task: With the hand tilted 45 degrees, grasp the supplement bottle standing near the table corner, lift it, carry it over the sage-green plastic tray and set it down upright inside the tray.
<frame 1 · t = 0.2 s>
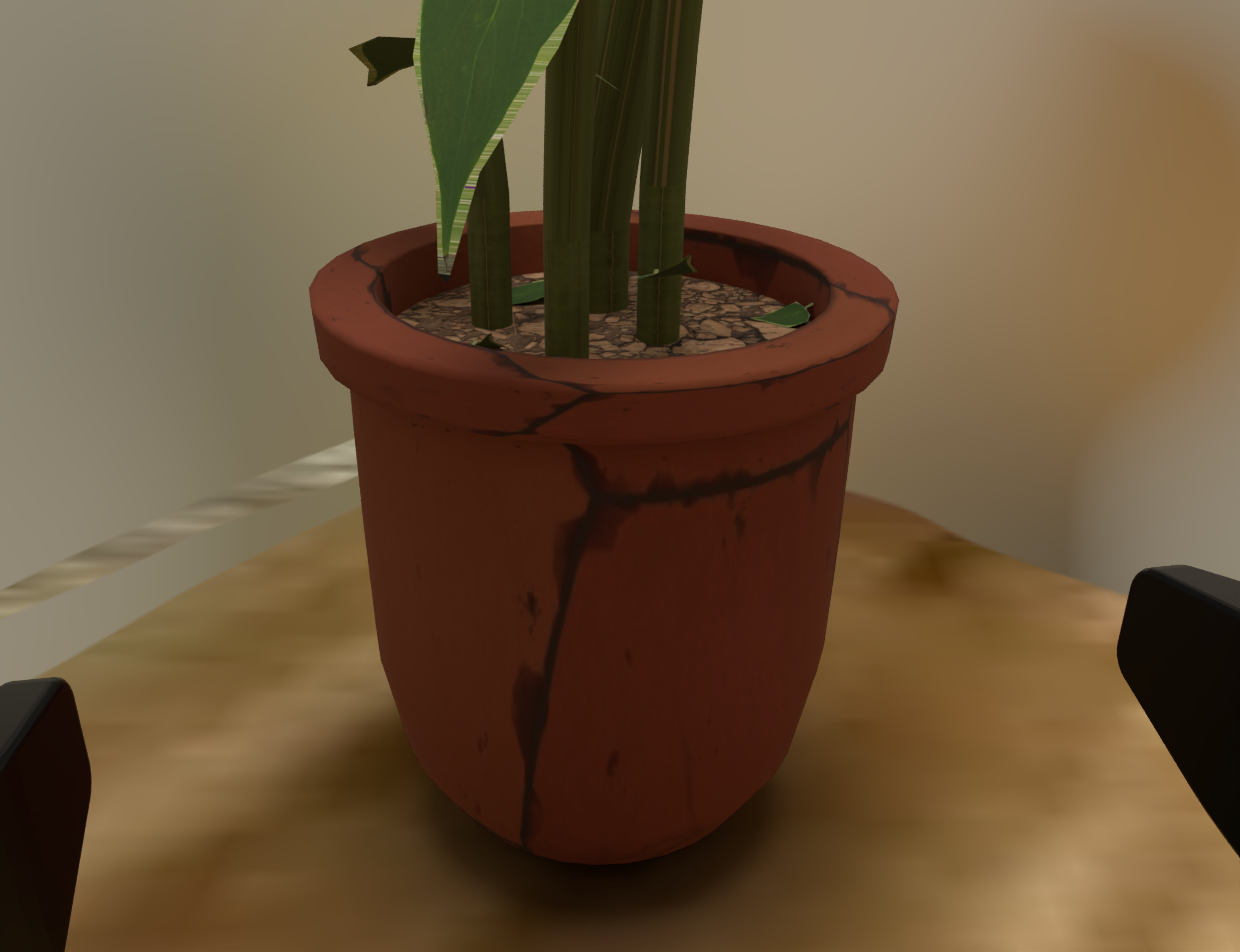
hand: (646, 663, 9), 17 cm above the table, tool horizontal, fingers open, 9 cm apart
potted plant: (515, 801, 32), on the table
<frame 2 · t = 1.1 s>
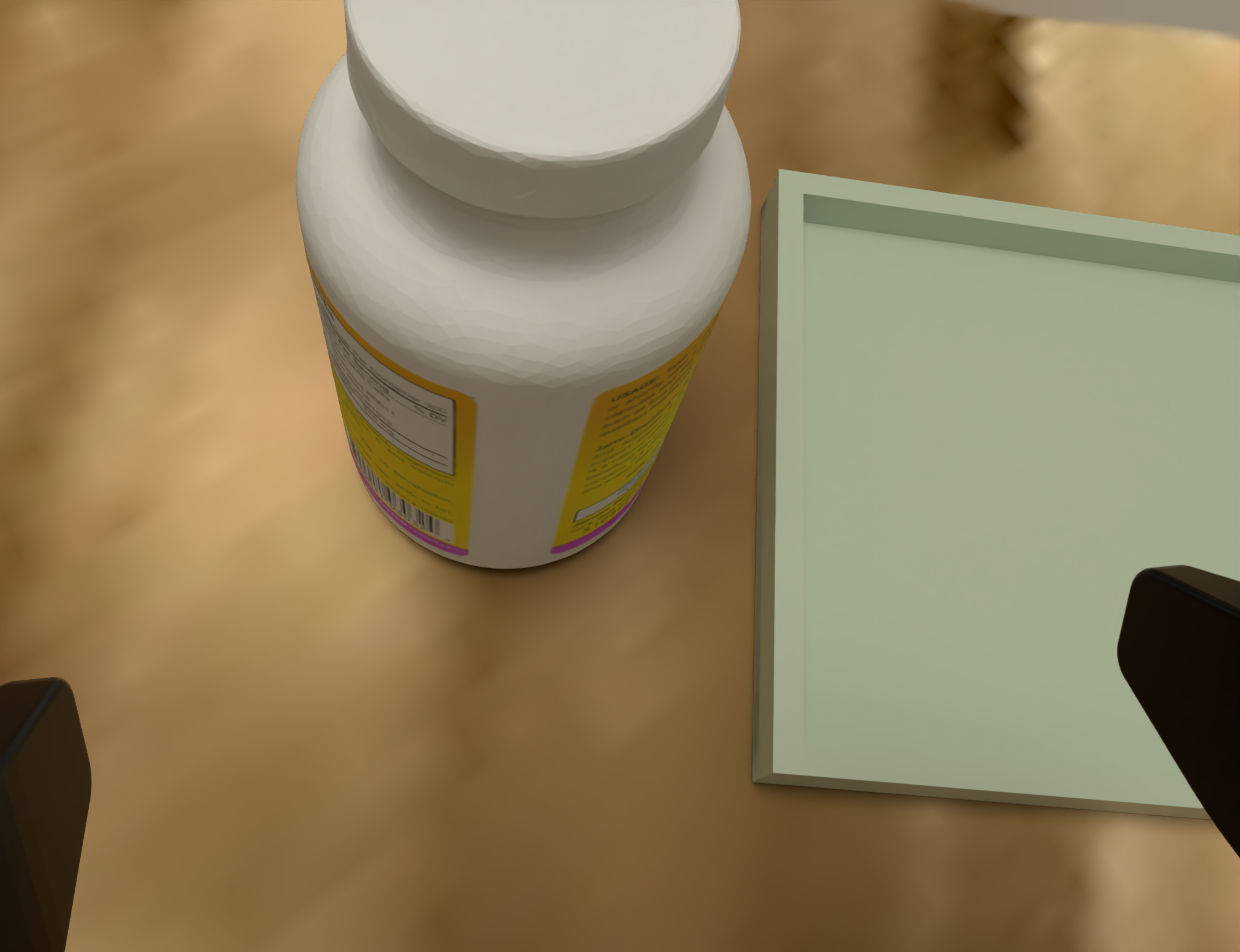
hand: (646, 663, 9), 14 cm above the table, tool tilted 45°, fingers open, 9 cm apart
tray: (1048, 498, 26), on the table
supplement bottle: (501, 437, 25), on the table
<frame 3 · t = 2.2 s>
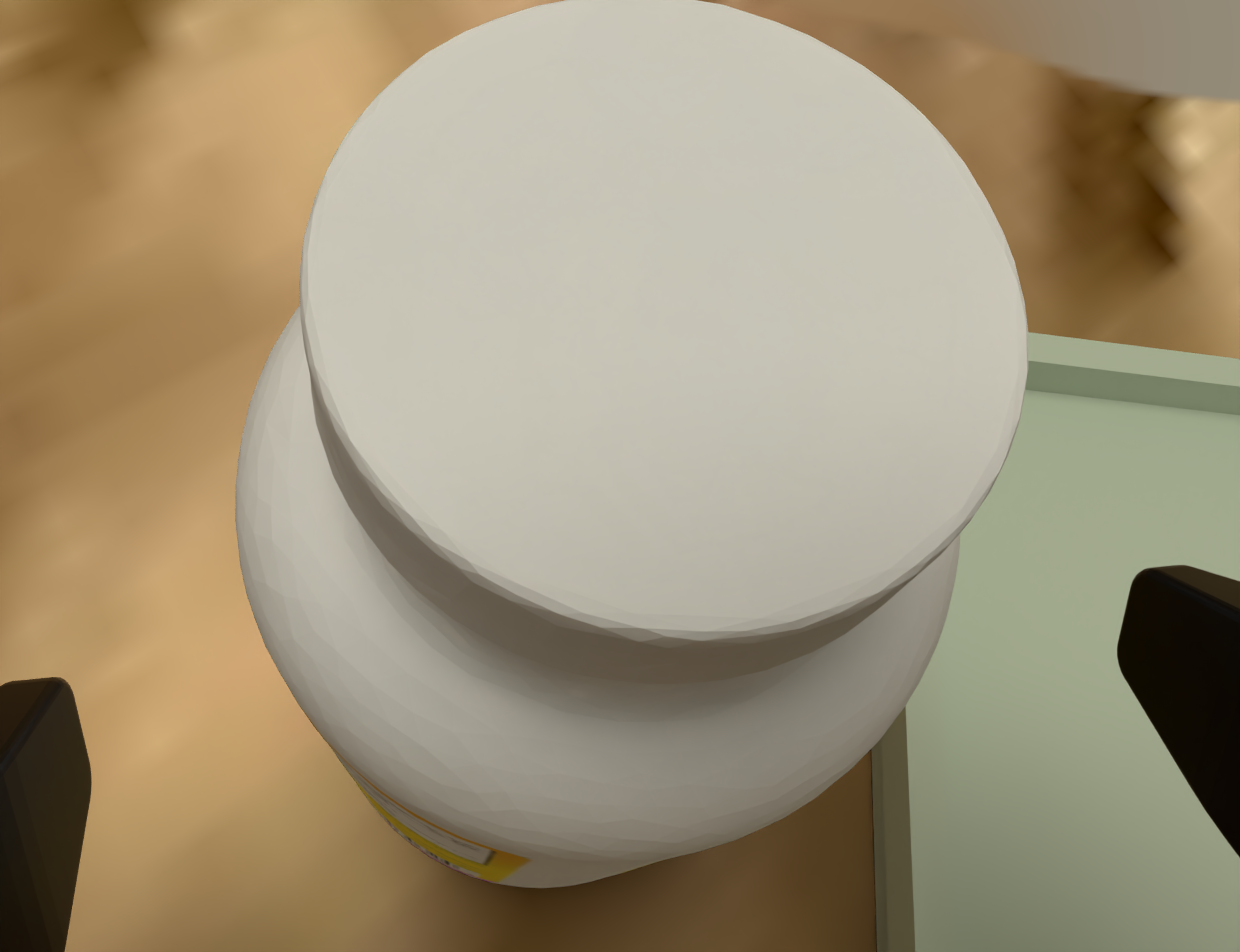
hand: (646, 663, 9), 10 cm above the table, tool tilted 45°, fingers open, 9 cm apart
supplement bottle: (536, 682, 19), on the table
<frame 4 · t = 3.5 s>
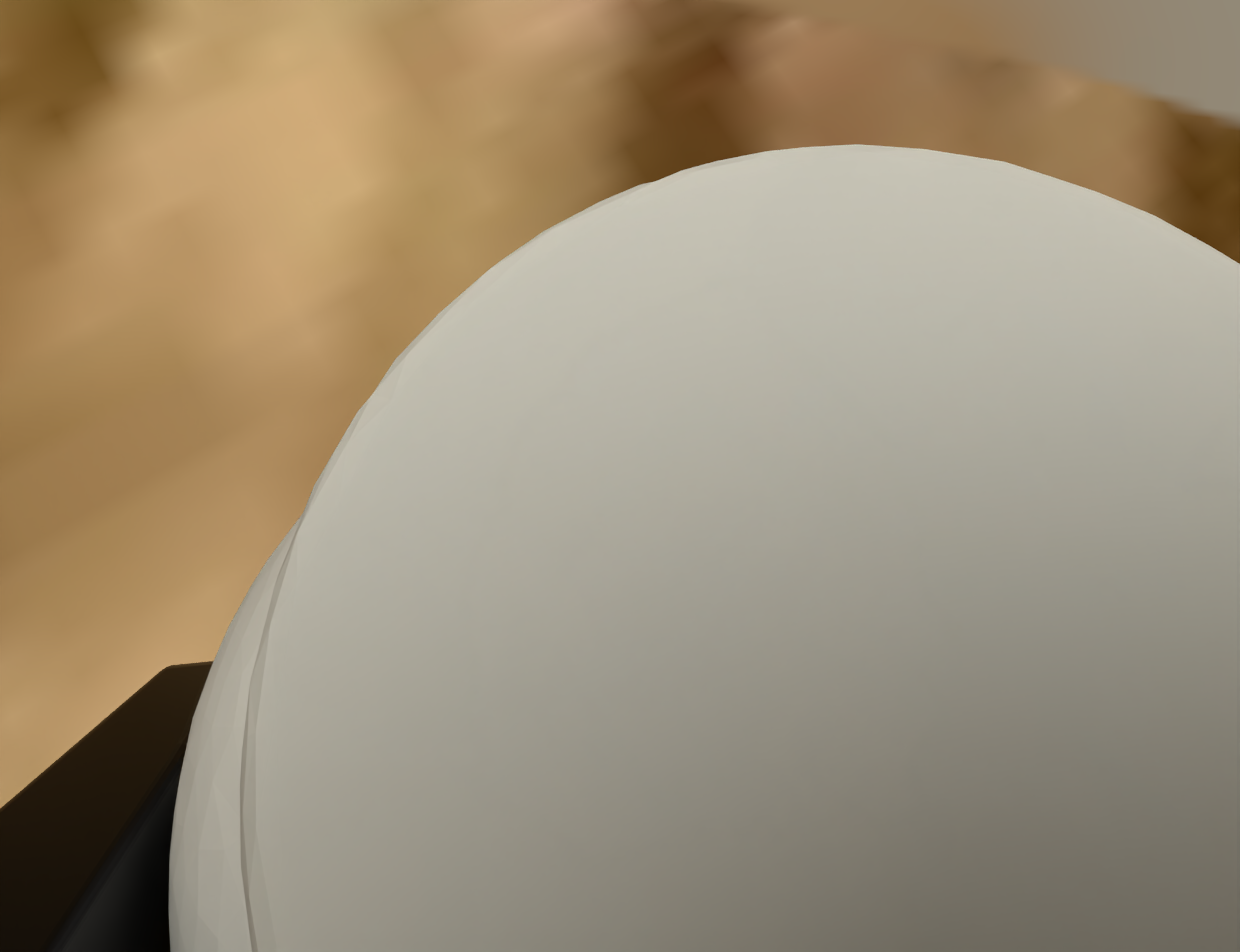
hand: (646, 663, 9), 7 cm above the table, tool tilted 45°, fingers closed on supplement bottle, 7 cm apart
supplement bottle: (574, 866, 16), on the table, touching gripper
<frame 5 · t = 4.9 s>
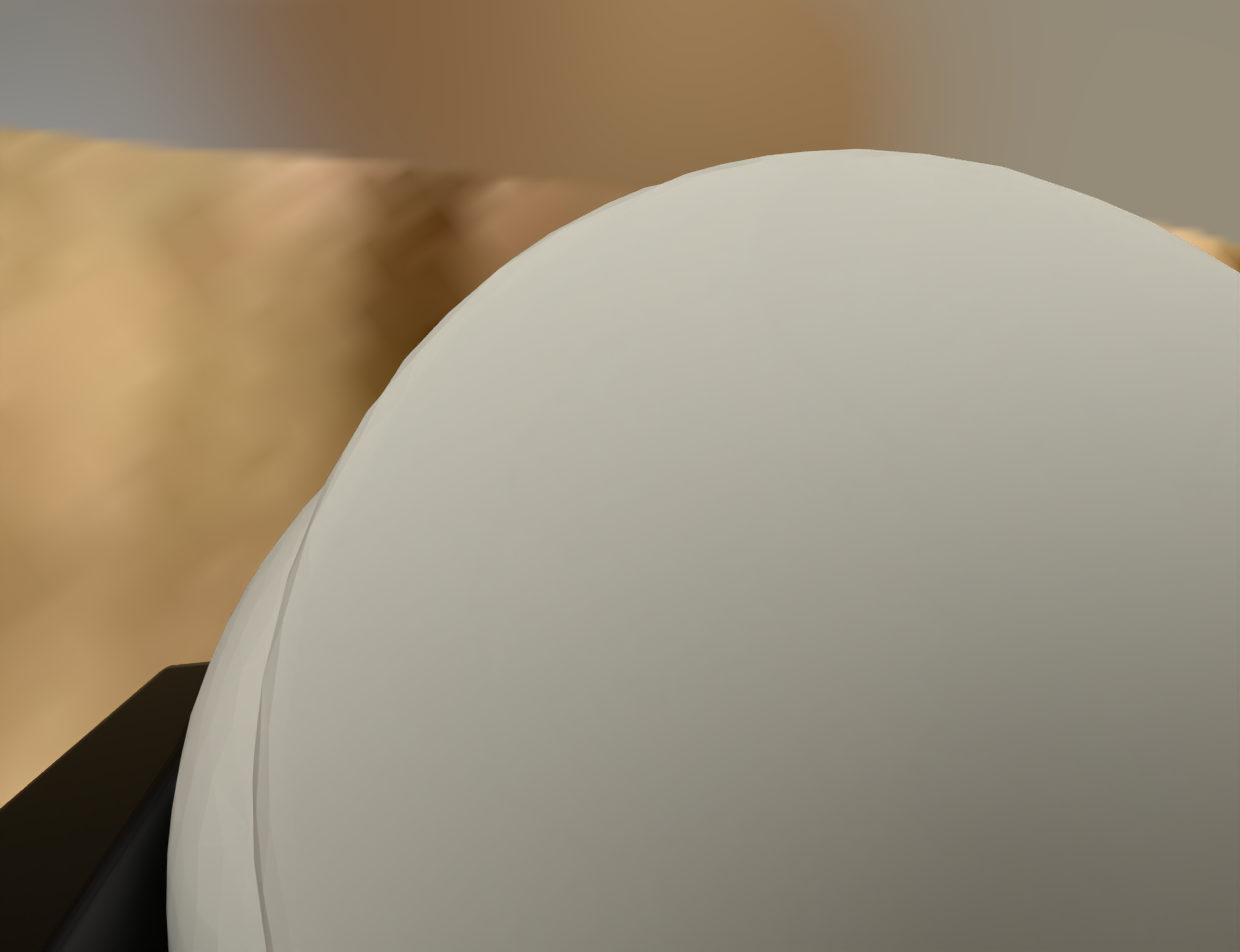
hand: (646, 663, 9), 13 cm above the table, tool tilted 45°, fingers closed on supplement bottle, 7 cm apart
supplement bottle: (563, 864, 16), point 6 cm above the table, touching gripper
when the fingers open (9 cm above the table, at t = 6.8 s): supplement bottle stays where it is, resting on tray.
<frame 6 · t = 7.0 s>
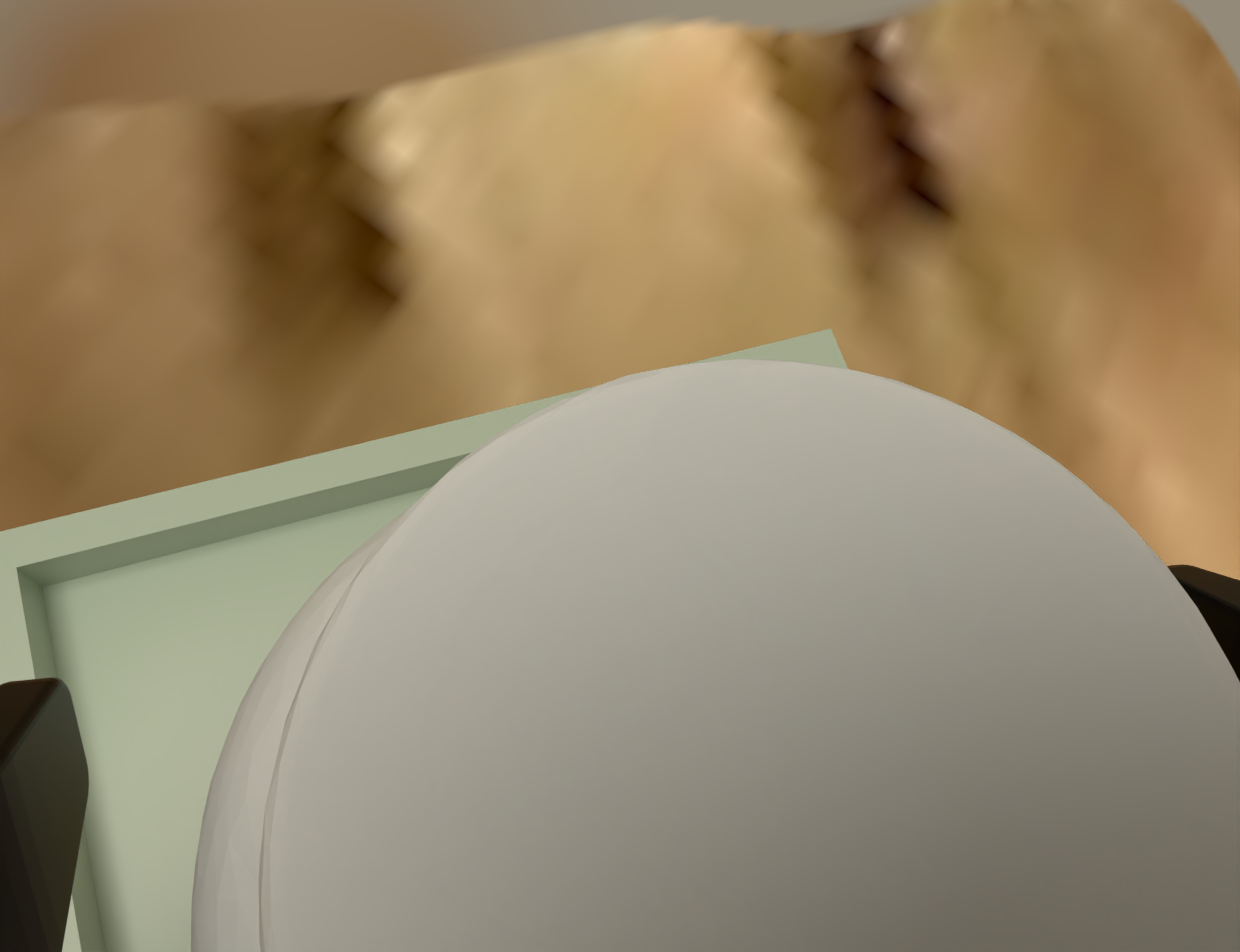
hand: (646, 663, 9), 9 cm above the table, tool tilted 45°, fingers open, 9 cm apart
tray: (561, 868, 17), on the table
supplement bottle: (554, 882, 17), resting on tray
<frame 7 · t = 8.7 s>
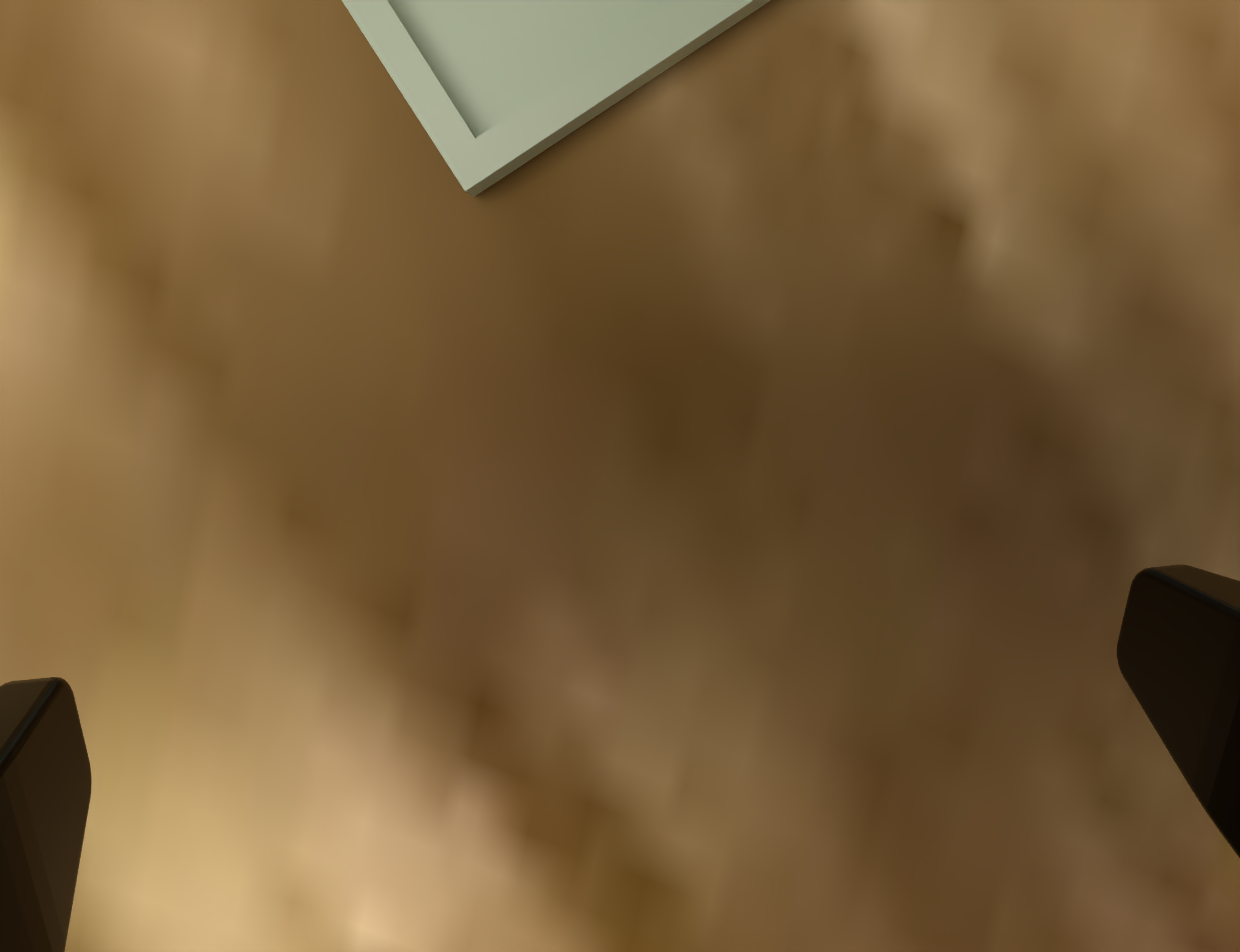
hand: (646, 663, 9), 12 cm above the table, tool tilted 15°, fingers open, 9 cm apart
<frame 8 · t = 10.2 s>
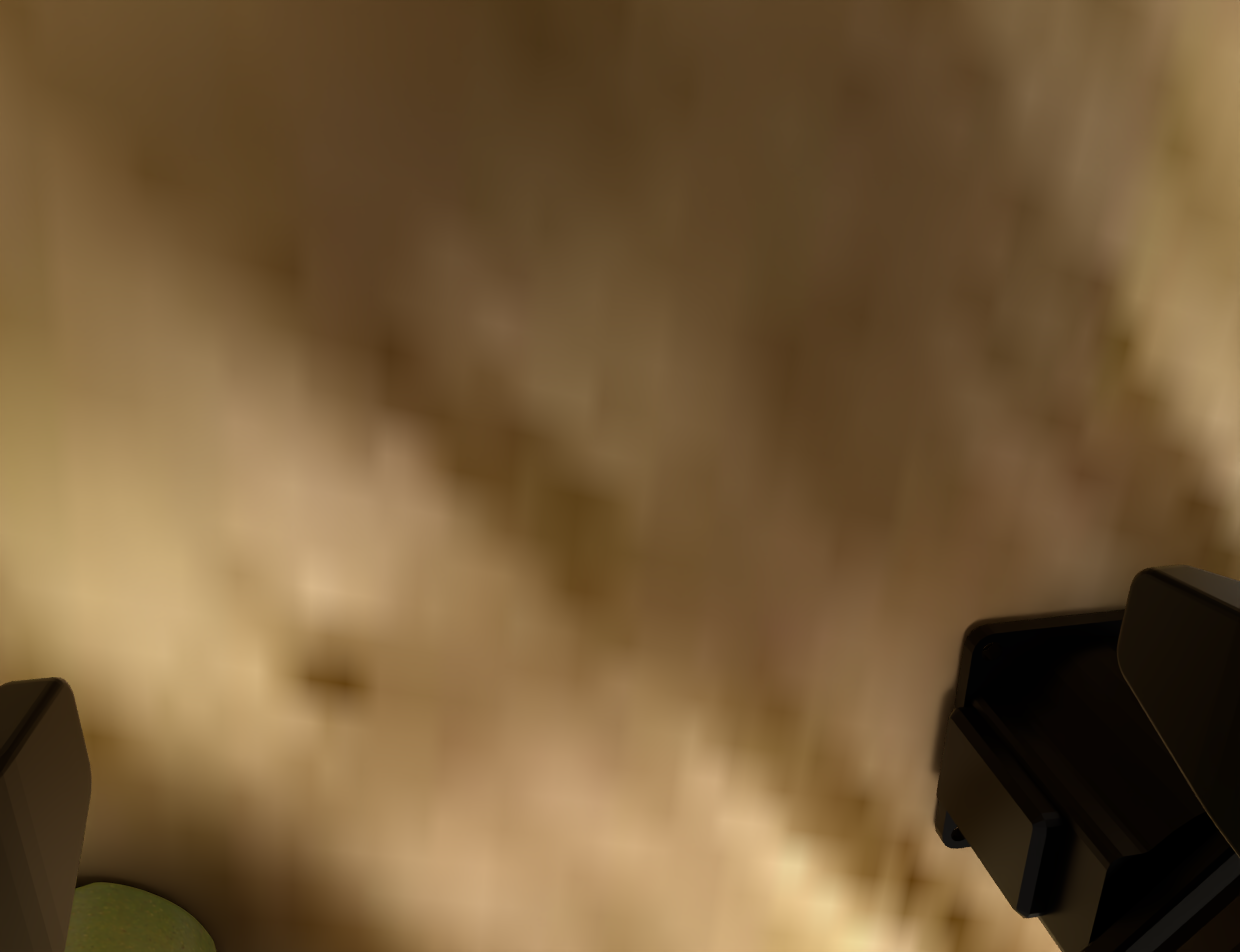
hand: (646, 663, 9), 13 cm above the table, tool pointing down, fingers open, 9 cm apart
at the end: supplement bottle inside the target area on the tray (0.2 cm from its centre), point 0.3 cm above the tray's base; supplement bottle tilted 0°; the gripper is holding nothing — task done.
